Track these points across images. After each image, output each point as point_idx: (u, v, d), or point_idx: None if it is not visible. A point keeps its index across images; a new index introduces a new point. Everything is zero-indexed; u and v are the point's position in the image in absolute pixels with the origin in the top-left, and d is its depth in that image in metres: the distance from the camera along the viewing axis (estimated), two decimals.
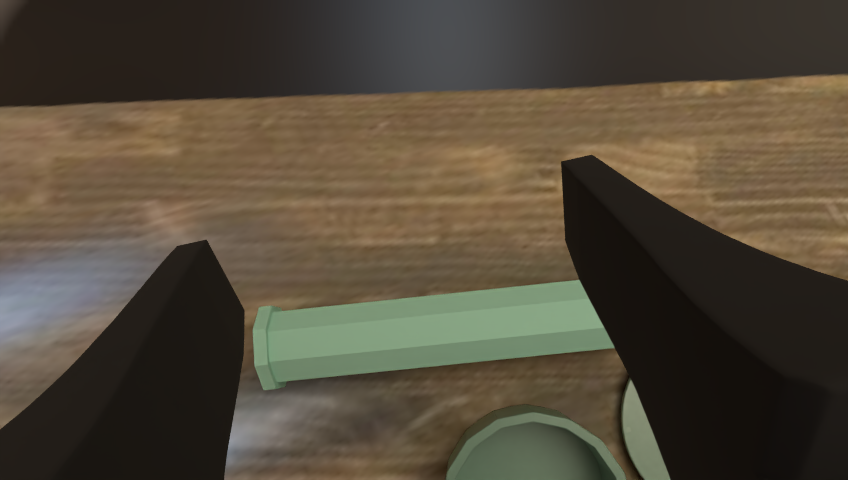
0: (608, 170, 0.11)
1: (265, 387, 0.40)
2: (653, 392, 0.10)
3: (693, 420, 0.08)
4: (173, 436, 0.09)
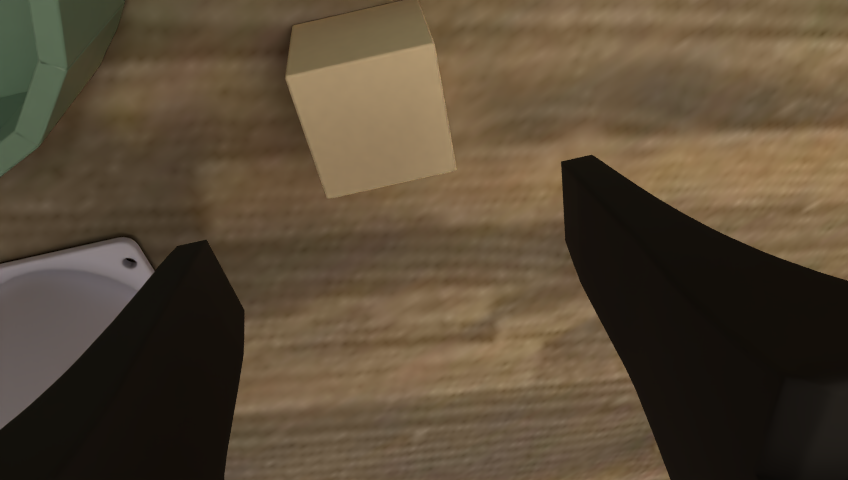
0: (608, 170, 0.11)
1: None
2: (653, 392, 0.10)
3: (693, 420, 0.08)
4: (173, 436, 0.09)
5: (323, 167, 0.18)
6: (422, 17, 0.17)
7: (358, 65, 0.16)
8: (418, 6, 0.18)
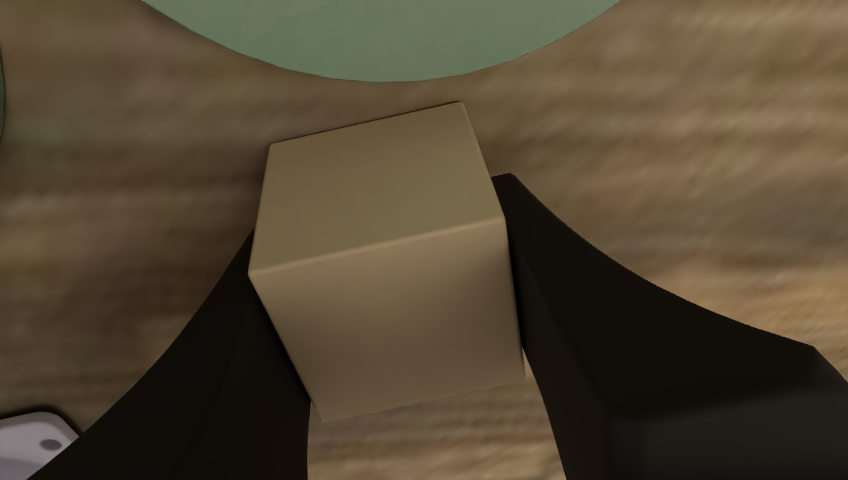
0: (519, 189, 0.11)
1: None
2: (553, 413, 0.10)
3: (574, 445, 0.08)
4: (269, 416, 0.09)
5: (315, 386, 0.11)
6: (476, 149, 0.11)
7: (373, 254, 0.09)
8: (466, 122, 0.12)
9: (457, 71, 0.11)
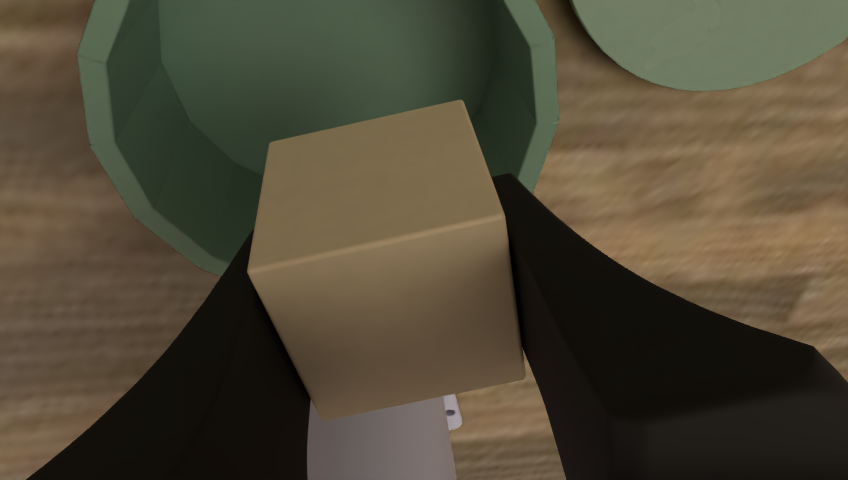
0: (519, 190, 0.11)
1: None
2: (553, 413, 0.10)
3: (574, 445, 0.08)
4: (269, 416, 0.09)
5: (315, 384, 0.11)
6: (476, 147, 0.11)
7: (372, 251, 0.09)
8: (466, 120, 0.11)
9: (741, 85, 0.20)
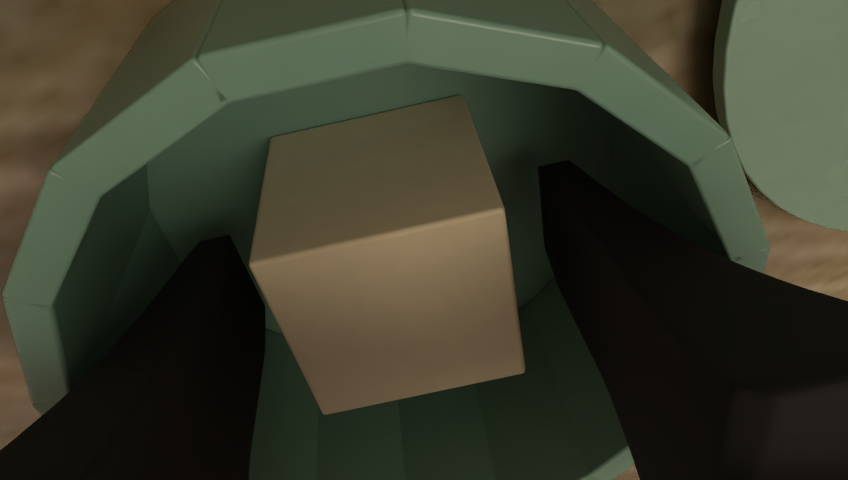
0: (582, 176, 0.11)
1: None
2: (624, 398, 0.10)
3: (659, 427, 0.08)
4: (202, 430, 0.09)
5: (316, 378, 0.11)
6: (476, 142, 0.11)
7: (373, 244, 0.09)
8: (466, 115, 0.12)
9: None
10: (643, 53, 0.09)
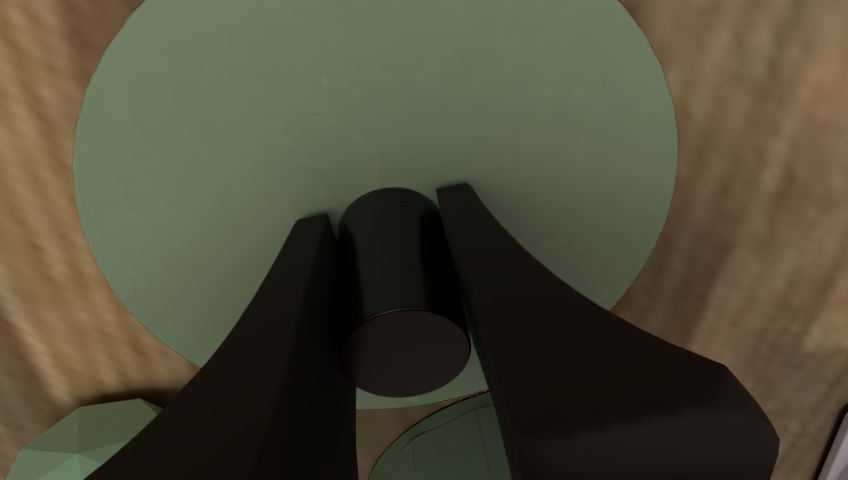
0: (471, 200, 0.11)
1: None
2: (500, 424, 0.10)
3: (511, 458, 0.08)
4: (325, 404, 0.09)
5: None
6: None
7: None
8: None
9: (672, 175, 0.13)
10: None
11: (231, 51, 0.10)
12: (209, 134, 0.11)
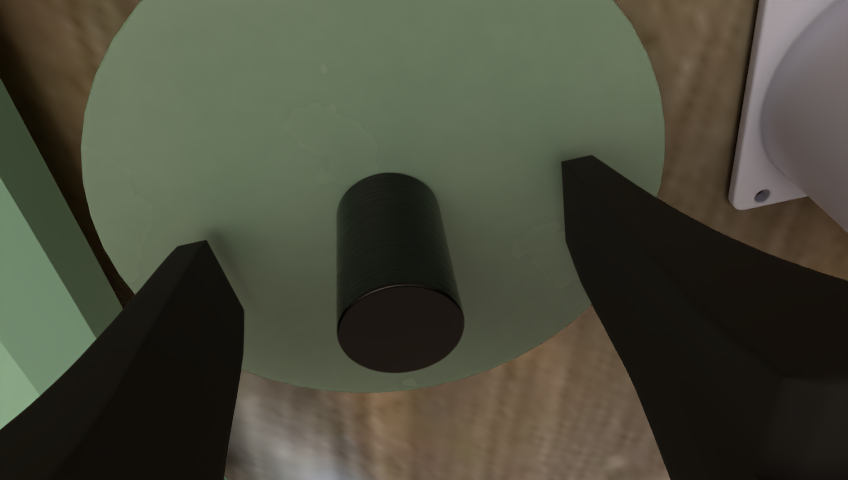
0: (608, 170, 0.11)
1: None
2: (653, 392, 0.10)
3: (693, 420, 0.08)
4: (173, 436, 0.09)
5: None
6: None
7: None
8: None
9: (660, 161, 0.13)
10: None
11: (234, 39, 0.10)
12: (213, 120, 0.11)
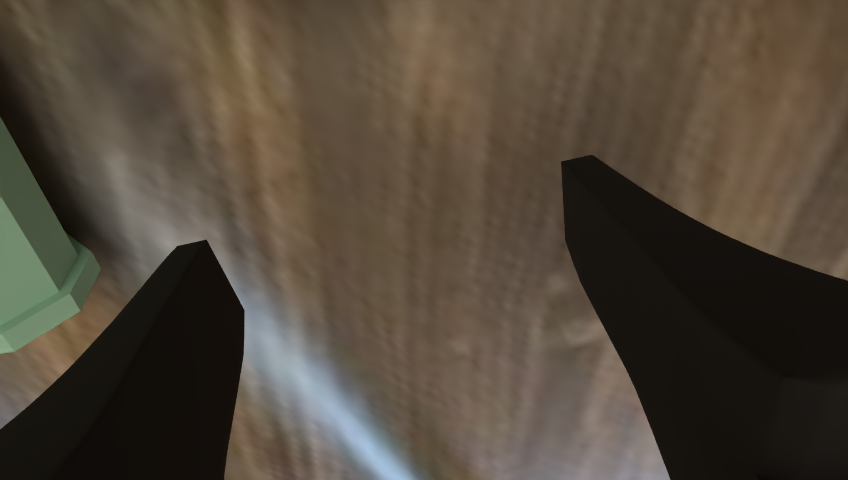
0: (608, 170, 0.11)
1: (71, 311, 0.21)
2: (653, 392, 0.10)
3: (693, 420, 0.08)
4: (173, 436, 0.09)
5: None
6: None
7: None
8: None
9: None
10: None
11: None
12: None
